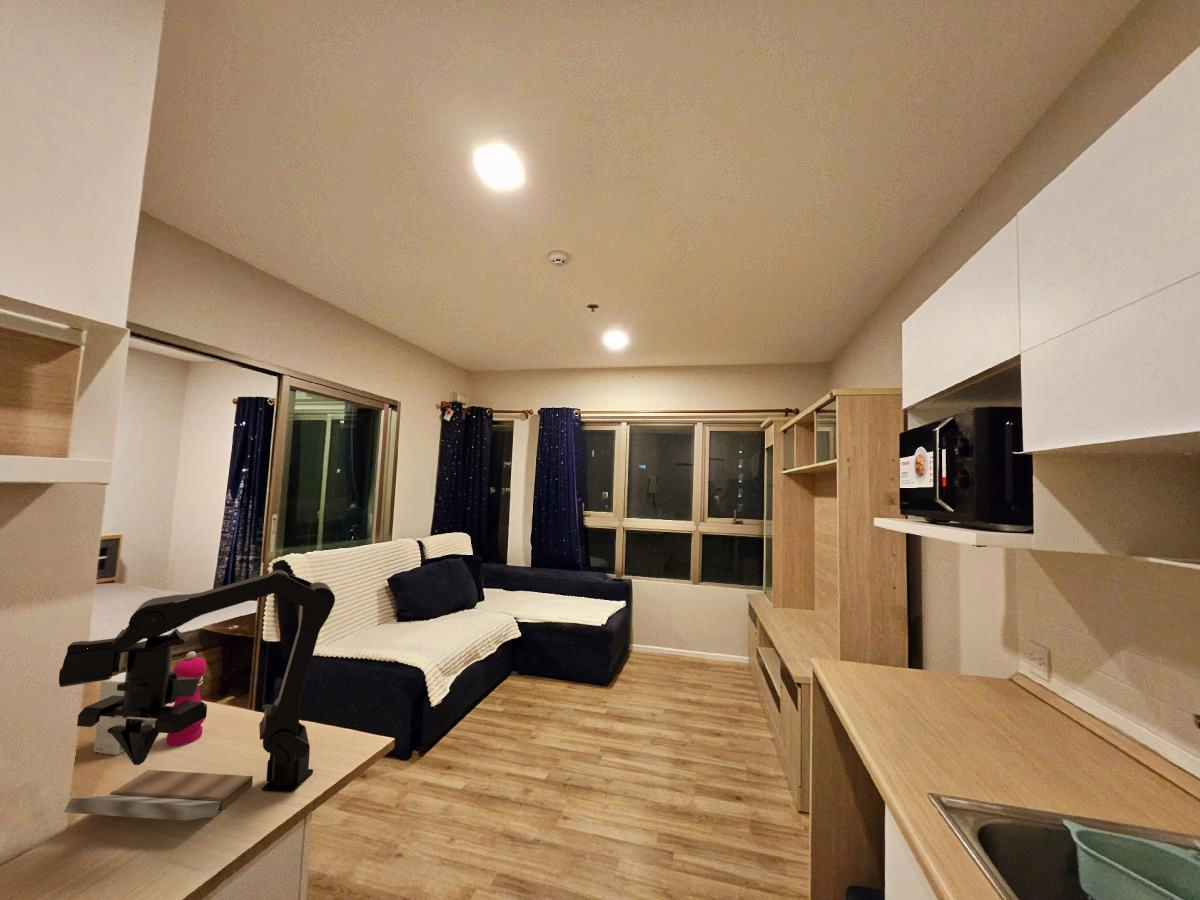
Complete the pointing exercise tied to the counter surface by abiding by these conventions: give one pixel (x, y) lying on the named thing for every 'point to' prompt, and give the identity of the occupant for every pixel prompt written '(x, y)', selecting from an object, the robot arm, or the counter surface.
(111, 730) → the robot arm
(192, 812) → the grey plank
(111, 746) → the skincare box
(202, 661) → the pepper mill
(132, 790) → the walnut plank
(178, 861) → the counter surface
